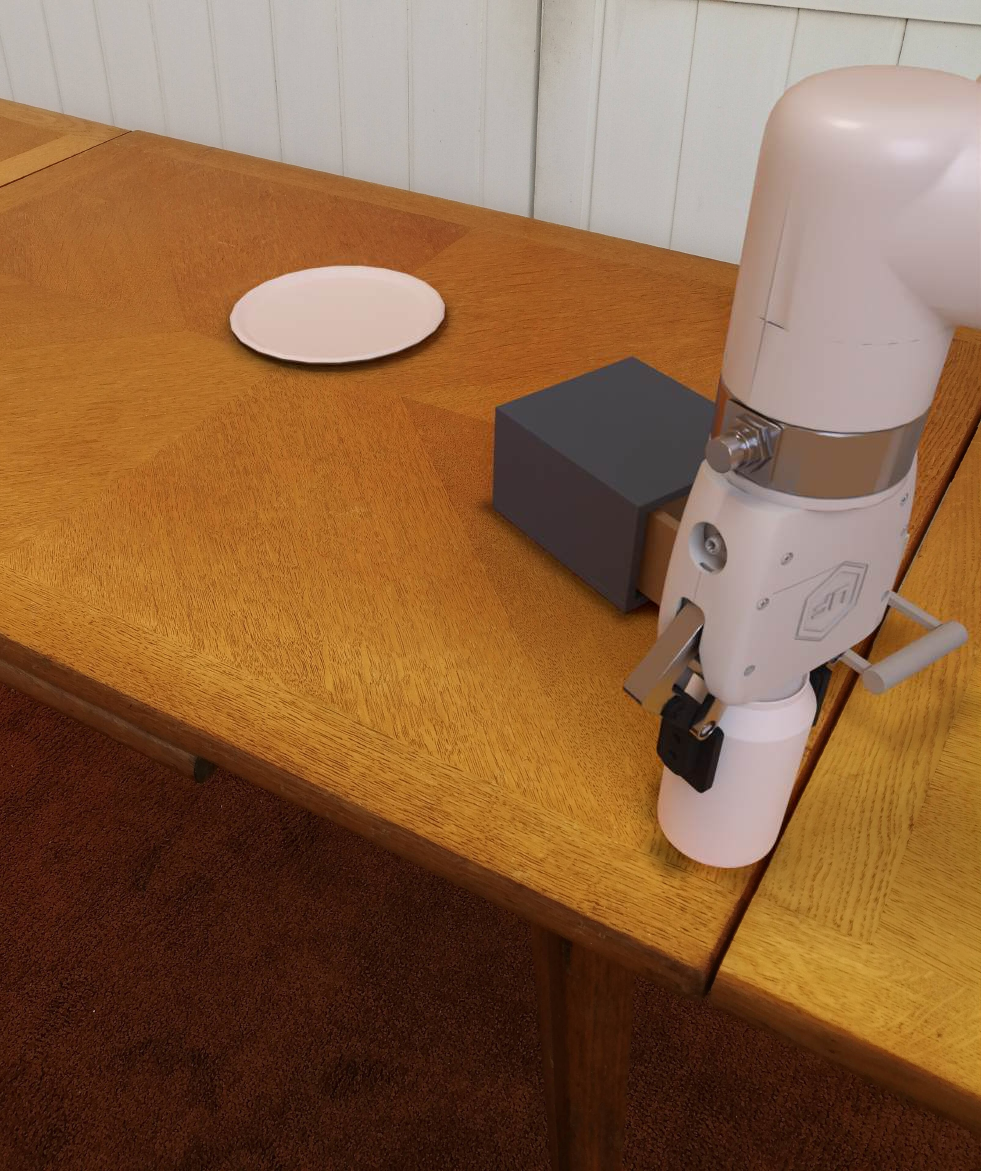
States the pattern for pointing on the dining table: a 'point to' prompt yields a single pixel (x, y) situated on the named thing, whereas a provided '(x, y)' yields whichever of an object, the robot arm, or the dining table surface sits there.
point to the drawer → (876, 677)
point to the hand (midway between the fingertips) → (736, 738)
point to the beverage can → (741, 779)
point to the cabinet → (599, 467)
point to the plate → (337, 315)
